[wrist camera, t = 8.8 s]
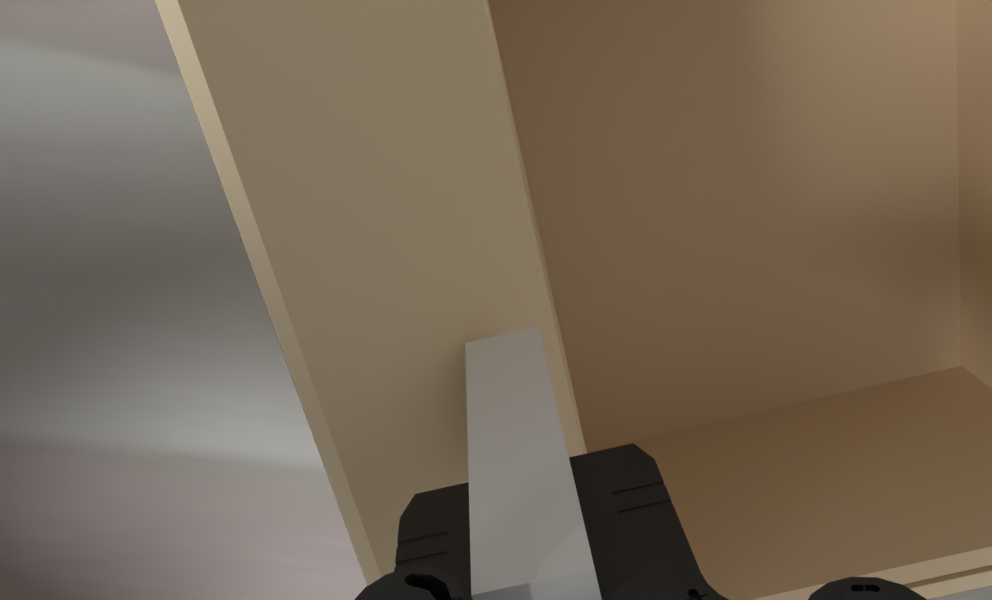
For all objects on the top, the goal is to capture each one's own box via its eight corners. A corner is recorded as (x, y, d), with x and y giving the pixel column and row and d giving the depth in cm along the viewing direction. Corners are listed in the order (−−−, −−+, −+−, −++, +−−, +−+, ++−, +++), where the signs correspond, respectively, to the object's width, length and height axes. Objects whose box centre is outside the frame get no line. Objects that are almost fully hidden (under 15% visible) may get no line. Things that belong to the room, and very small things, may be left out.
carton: (565, 480, 30) (611, 672, 22) (422, -134, 23) (409, -197, 14) (971, 387, 30) (1176, 547, 21) (964, -270, 22) (1278, -418, 14)
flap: (607, 635, 21) (460, 842, 17) (439, -96, 15) (136, -49, 10) (624, 641, 21) (479, 854, 16) (460, -102, 14) (157, -57, 10)
